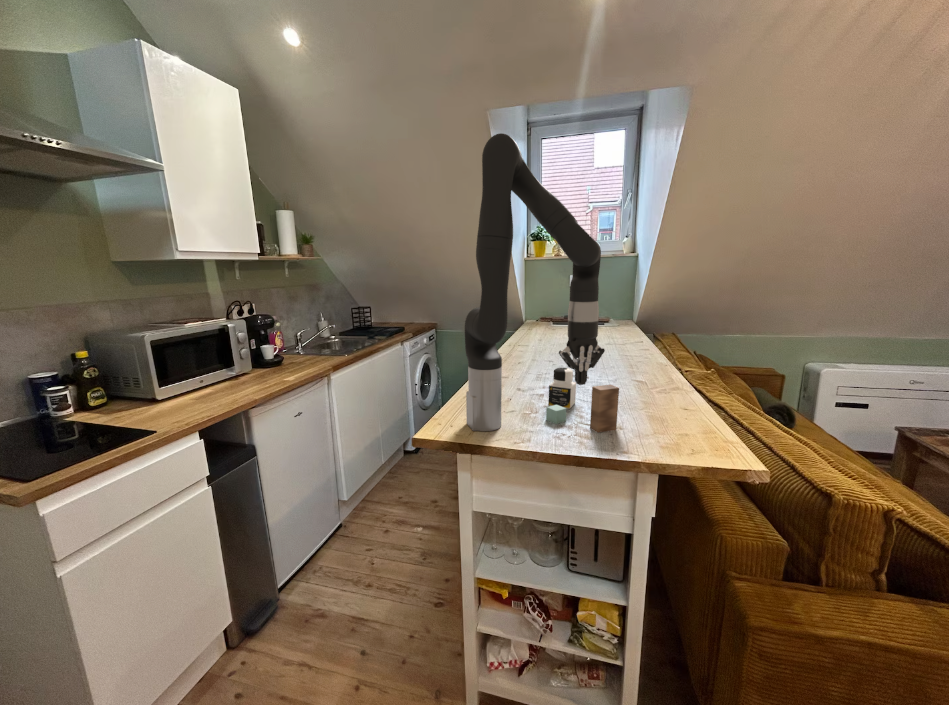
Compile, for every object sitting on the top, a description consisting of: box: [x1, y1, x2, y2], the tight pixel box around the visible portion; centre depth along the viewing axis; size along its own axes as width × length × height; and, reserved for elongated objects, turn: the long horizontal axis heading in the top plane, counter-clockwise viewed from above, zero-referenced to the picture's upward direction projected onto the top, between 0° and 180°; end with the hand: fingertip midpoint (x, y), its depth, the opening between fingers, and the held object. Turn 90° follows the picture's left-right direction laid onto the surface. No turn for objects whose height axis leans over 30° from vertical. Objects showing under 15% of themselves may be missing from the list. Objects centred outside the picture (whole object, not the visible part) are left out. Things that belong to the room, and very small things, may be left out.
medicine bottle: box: [548, 367, 577, 410], centre depth 130 cm, size 7×7×12 cm
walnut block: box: [589, 384, 620, 433], centre depth 110 cm, size 6×4×12 cm, turn 108°
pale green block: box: [545, 405, 567, 425], centre depth 117 cm, size 4×4×4 cm
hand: (580, 383), depth 106 cm, fingers closed
